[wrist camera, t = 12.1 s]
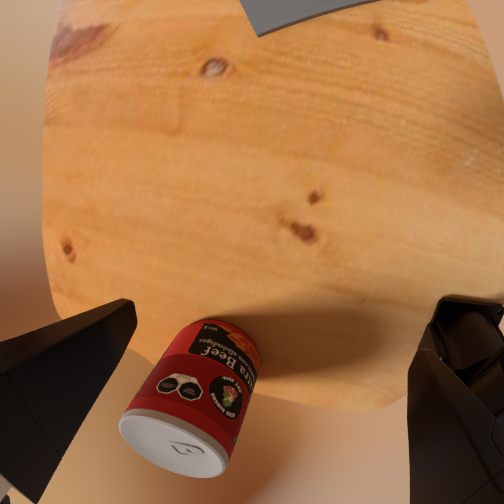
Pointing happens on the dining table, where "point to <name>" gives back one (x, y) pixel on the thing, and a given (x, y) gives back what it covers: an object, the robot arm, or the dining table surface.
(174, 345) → the canned food
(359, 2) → the charcoal mat
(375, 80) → the dining table surface
